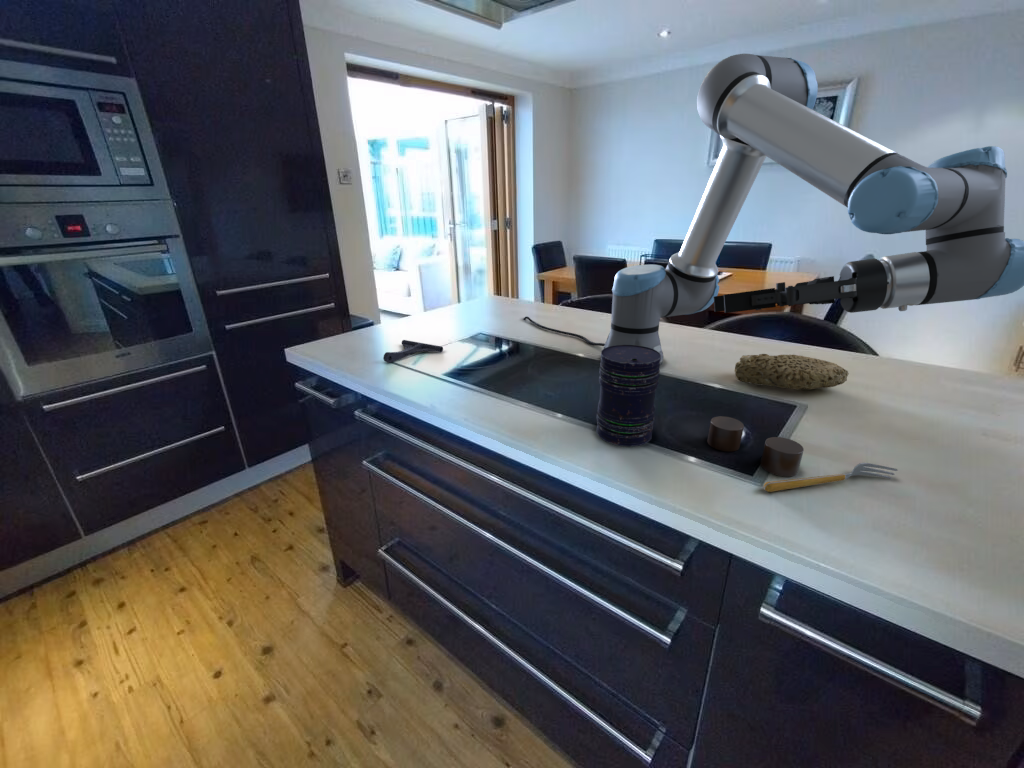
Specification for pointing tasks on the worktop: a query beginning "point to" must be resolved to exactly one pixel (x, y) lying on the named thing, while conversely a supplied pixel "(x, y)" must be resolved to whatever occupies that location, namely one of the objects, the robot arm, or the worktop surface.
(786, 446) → the walnut disc
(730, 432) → the walnut disc
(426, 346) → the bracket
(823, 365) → the sponge
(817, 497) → the worktop surface
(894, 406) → the worktop surface
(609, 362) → the storage jar
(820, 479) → the fork
